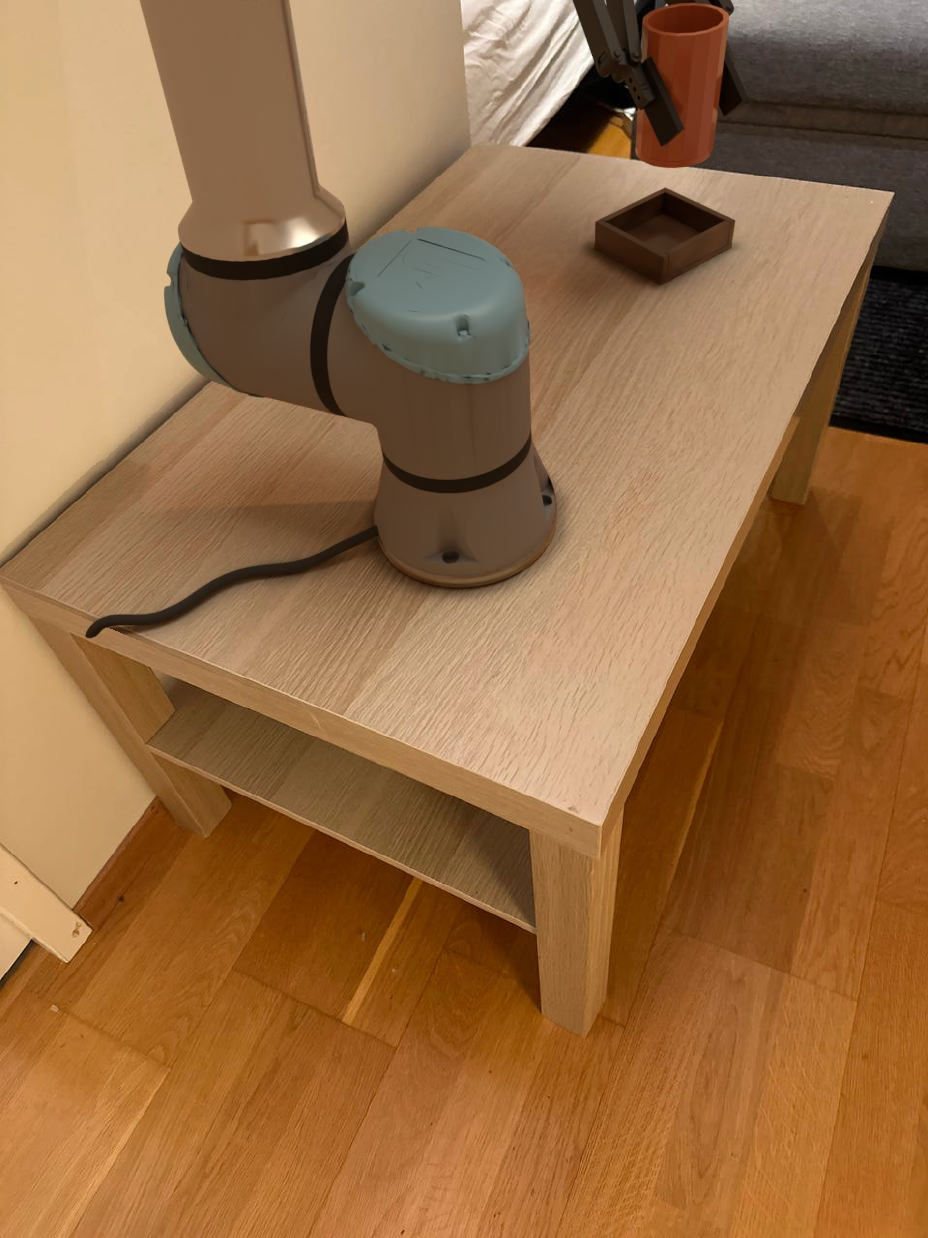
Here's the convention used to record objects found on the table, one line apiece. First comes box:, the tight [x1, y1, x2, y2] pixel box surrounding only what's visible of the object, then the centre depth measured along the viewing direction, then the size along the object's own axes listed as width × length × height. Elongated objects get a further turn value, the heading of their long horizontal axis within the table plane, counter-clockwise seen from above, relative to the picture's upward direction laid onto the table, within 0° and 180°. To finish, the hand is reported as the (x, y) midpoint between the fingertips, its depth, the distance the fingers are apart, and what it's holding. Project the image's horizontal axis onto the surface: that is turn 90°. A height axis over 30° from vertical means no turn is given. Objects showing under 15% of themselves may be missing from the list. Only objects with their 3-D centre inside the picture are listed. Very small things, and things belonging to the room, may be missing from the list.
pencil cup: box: [635, 3, 730, 169], centre depth 81 cm, size 7×7×11 cm
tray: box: [593, 187, 736, 285], centre depth 98 cm, size 11×11×3 cm
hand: (704, 121), depth 81 cm, fingers closed on pencil cup, 7 cm apart
